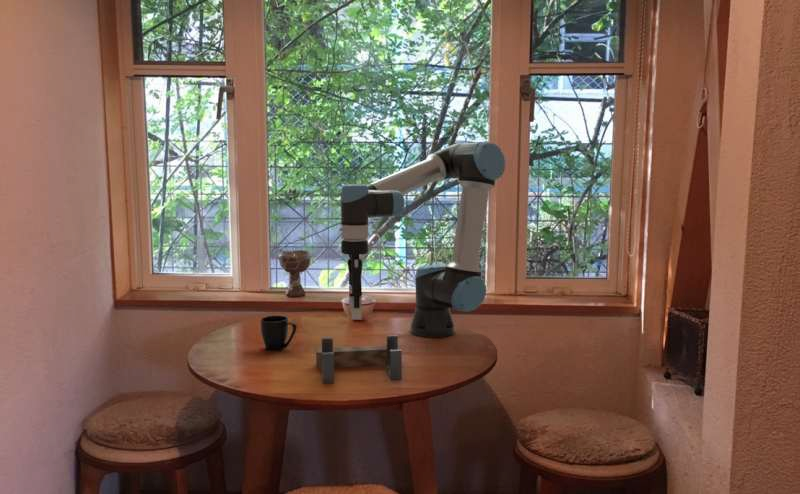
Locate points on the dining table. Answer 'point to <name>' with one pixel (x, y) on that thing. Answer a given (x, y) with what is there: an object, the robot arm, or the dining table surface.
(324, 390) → the dining table surface
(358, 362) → the rail
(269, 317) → the mug
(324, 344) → the bracket
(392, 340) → the bracket
